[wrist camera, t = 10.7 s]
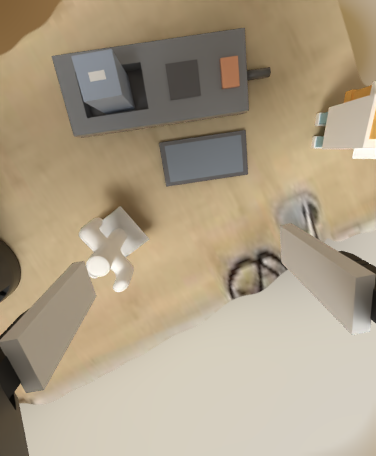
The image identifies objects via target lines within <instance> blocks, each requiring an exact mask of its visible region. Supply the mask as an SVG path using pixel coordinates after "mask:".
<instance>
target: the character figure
mask: <svg viewBox="0 0 376 456" xmlns="http://www.w3.org/2000/svg"><path fill="white" fill-rule="evenodd" d="M315 126H326V128H325V133H324V136H313V139H312V145H311V148H322V149H354V152H353V157H352V159H376V81H373V84H372V85H371V86H368V87H365V88H362V89H359V90H350V91H347V92H346V93H345V99H344V103H342V104H339V105H335V106H332V107H329V111H328V112H326V113H317V114H316V120H315Z"/></svg>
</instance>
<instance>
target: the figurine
mask: <svg viewBox="0 0 376 456" xmlns="http://www.w3.org/2000/svg"><path fill="white" fill-rule="evenodd" d="M79 237H80V238H81V239H82V241H83V242H84V243H85V244H86V245H87V246H88V247H89V248H90V249H91V250H92V251H93V252H94V253H93V254H92V255H91V256H90V258H89V259H88V261H87V263H86V268H87V271H88V274H89V276H90V277H92V278H97V277H102V276H105V275H106V274H108V272H109V271H110V268H111V269H112V270H113V271H114V273H115V275H116V280H115V282H114V284H113V289H114V291H116V292H122V291H124V290H125V289H126V288H127V287H128V285H129V283H130V280H131V278H132V275H133V271H134V268H133V265H132V264H131V263H130V262H129V261H128V259H127V258H126V257H127V256H128V255H129V254H131V253H132V252H133V251H135V250H136V249H137V248H139V247H140V246H141V245H143V244H144V243H145V242H147V241H148V240H149V238H148V237H147V235H146V234H145V233H144V232H143V231H142V230H141V229H140V228H139V226H138V225H137V224H136V223H135V222H134V221H133V220H132V219H131V217H130V216H129V215H128V214H127V213H126V212H125V211H124V210H123V208H122V207H121V206H119V207H118V208H117V209H116V210H114V211H113V212H112V213H111V214H110V215H108V216H107V217H106V218H105V219H103V220H102V219H101V218H99V217H96V218H93V219H92V220H91V221H89V222H88V223H87V224H85V225H84V226H83V227H82V228H81V230H80V231H79Z"/></svg>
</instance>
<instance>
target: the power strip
mask: <svg viewBox="0 0 376 456" xmlns="http://www.w3.org/2000/svg"><path fill="white" fill-rule="evenodd" d="M108 49H112V50H113V52H114V54H115V55H116V57H117V59H118V60H119V62H120V63H121V65H122V67H123V68H124V70H125V72H126V73H127V75H128V78H129V82H130V87H131V92H132V96H133V101H134V105H135V109H134V110H129V111H123V112H118V113H112V114H107V115H106V114H105V113H103V112H101V111H99V110H98V109H96V108H94V107H92V106H91V105H89V104H87V103H85V102H84V100H83V97H82V93H81V89H80V86H79V82H78V79H77V75H76V72H75V68H74V64H73V61H72V57H71V56H75V55H80V54H86V53H92V52H97V51H103V50H108ZM52 59H53V63H54V66H55V70H56V74H57V77H58V81H59V84H60V88H61V91H62V95H63V99H64V102H65V106H66V109H67V113H68V116H69V120H70V124H71V127H72V131H73V134H74V136H75V137H81V138H83V137H90V136H96V135H103V134H110V133H116V132H123V131H130V130H137V129H143V128H150V127H157V126H164V125H170V124H177V123H184V122H190V121H197V120H204V119H211V118H217V117H224V116H231V115H238V114H243V113H245V112H247V111H248V110H249V104H248V84H247V80H252V79H258V78H265V77H269V76H270V67H268V68H261V69H255V70H248V71H247V64H246V44H245V28H239V29H233V30H226V31H219V32H212V33H205V34H199V35H192V36H185V37H178V38H171V39H165V40H158V41H151V42H144V43H137V44H131V45H124V46H117V47H110V48H103V49H97V50H90V51H83V52H76V53H69V54H63V55H56V56H52Z"/></svg>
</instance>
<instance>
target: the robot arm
mask: <svg viewBox="0 0 376 456" xmlns="http://www.w3.org/2000/svg"><path fill="white" fill-rule="evenodd" d="M280 239H281V260H282V263H283V265H284V266H285V267H286V268H287V269H288V270H289V271H290V272H291V273H292V274H293V275H294V276H295V277H296V278H297V279H298V280H299V281H300V282H301V283H302V284H303V285H304V286H305V287H306V288H307V289H308V290H309V291H310V292H311V293H312V294H313V295H314V296H315V297H316V298H317V299H318V301H319V302H320V303H322V305H323V306H325V308H326V309H327V310H328V311H329V312H330V313H331V314H332V315H333V316H334V317H335V318H336V319H337V320H338V321H339V322H340V323H341V324H342V325H343V326H344V327H345V328H346V329H347V330H348V331H349V332H350V333H351V334H352V335H354V334H360V333H365V332H370V327H371V320H373V321H374V322H375V323H376V267H375V266H373V265H371V264H369V263H368V262H366V261H364V260H362V259H361V258H359V257H357V256H355V255H354V254H351V253H348V252H344V251H336V250H335V249H333V248H331V247H330V246H328V245H326V244H325V243H323V242H321V241H320V240H318V239H316V238H315V237H313V236H312V235H310V234H308V233H307V232H305V231H303V230H302V229H300V228H298V227H297V226H295V225H293V224H292V223H290V224H285V225H280ZM19 280H20V267H19V264H18V261H17V259H16V257H15V255H14V254H13V252H12V251H11V250H10V248H9V247H8V246H7V245H6V244H5V243H3V242H2V241H1V240H0V302H2V301H3V300H4V299H6V298H7V297H8V296H9V295H10V294H11V293H13V292H14V290H15V289H16V288H17V286H18V284H19ZM95 298H96V294H95V291H94V288H93V285H92V282H91V280H90V277H89V274H88V271H87V268H86V266H85V263H84V261H82V262H76V263H72V264H71V265H70V266H69V267H68V269H67V270H66V271H65V272H64V273H63V274H62V275H61V276H60V277H59V278H58V279H57V280H56V281H55V282H54V283H53V284H52V285H51V287H50V288H49V289H48V290H47V291H46V292H45V293H44V294H43V295H42V296H41V297H40V298H39V299H38V300H37V301H36V302H35V303H34V305H33V306H32V307H31V308H30V309H28V310H27V311H25V312H24V313H23V314H21V315H20V316H19V317H18V318H17V319H16V320H15V321H14V322H13V324H11V325H10V326H9V327H8V328H7V330H6V331H5V332H4V333H3V334H2V335H1V336H0V456H29V453H28V448H27V443H26V438H25V432H24V427H23V422H22V417H21V412H20V407H19V401H18V397H17V396H16V394H15V390H16V389H17V387H18V386H19V384H20V383H21V385H22V386H23V388H24V390H25V392H26V393H29V392H35V391H41V390H44V389H45V387H46V386H47V384H48V382H49V380H50V378H51V377H52V375H53V373H54V371H55V369H56V368H57V366H58V364H59V362H60V360H61V359H62V357H63V355H64V353H65V351H66V350H67V348H68V346H69V344H70V343H71V341H72V339H73V337H74V335H75V334H76V332H77V330H78V328H79V326H80V325H81V323H82V321H83V319H84V317H85V316H86V314H87V312H88V310H89V308H90V307H91V305H92V303H93V301H94V300H95Z"/></svg>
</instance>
